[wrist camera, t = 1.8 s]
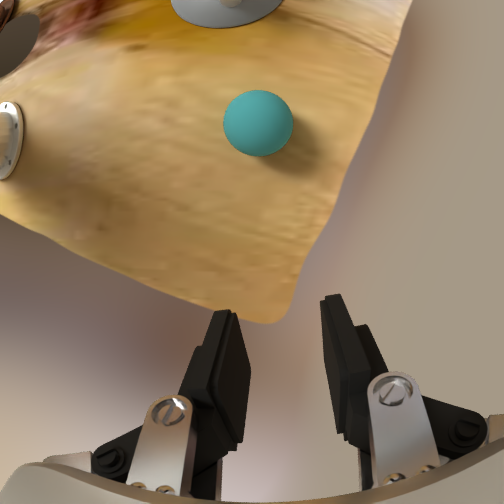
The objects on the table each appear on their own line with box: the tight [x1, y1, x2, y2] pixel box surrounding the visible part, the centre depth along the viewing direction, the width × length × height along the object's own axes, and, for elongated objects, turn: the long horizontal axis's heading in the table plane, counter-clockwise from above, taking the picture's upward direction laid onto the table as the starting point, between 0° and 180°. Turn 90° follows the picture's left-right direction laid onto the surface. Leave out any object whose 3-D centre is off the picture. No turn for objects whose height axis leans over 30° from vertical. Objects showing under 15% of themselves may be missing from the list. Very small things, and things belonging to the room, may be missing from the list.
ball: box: [223, 90, 293, 156], centre depth 22 cm, size 6×6×6 cm
